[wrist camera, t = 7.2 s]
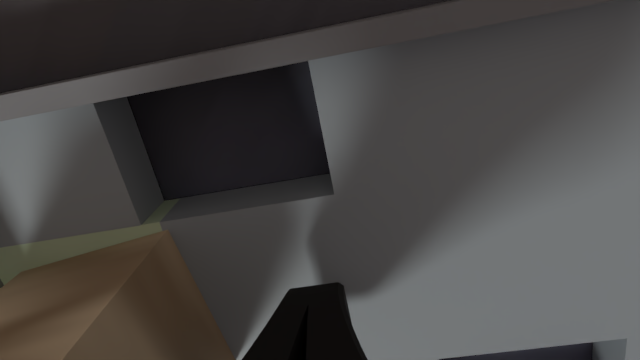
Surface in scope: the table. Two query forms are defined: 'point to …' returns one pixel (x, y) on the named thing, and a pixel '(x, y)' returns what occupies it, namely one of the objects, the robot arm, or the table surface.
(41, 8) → the table surface
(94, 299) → the block
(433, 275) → the board
